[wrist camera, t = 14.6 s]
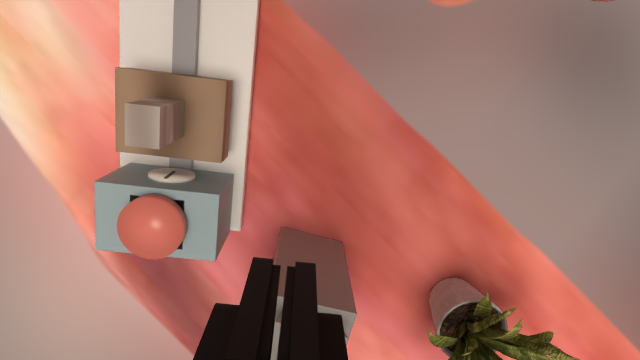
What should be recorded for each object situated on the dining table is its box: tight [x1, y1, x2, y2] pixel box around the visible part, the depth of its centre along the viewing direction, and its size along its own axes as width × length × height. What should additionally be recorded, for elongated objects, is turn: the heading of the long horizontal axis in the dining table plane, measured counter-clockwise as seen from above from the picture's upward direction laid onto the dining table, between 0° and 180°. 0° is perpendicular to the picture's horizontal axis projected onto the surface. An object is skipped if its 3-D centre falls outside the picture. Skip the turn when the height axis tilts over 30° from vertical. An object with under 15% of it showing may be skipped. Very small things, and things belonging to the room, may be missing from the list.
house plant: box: [427, 278, 579, 360], centre depth 39 cm, size 14×14×16 cm
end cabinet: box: [94, 163, 234, 261], centre depth 37 cm, size 10×6×7 cm, turn 83°
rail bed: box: [120, 0, 260, 231], centre depth 37 cm, size 12×29×4 cm, turn 173°
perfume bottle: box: [271, 227, 357, 360], centre depth 36 cm, size 7×7×18 cm
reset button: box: [117, 194, 187, 259], centre depth 34 cm, size 5×5×3 cm
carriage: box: [115, 67, 233, 163], centre depth 33 cm, size 9×7×9 cm
